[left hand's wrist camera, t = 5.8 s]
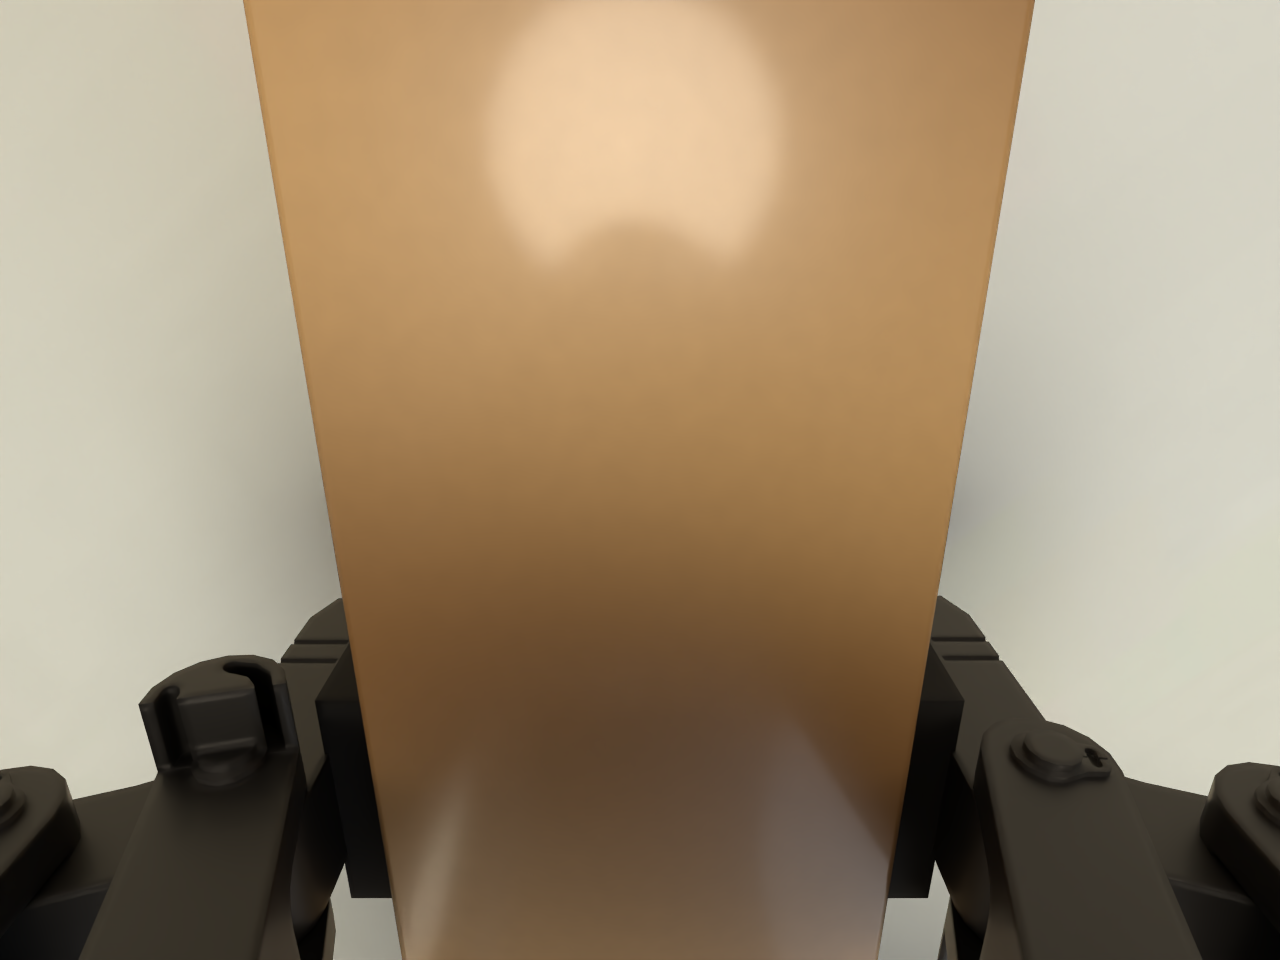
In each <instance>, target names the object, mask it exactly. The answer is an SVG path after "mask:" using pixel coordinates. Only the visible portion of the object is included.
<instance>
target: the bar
mask: <svg viewBox="0 0 1280 960" xmlns="http://www.w3.org/2000/svg"><path fill="white" fill-rule="evenodd" d="M243 2H244V8H245V14H246V20H247V26H248V32H249V38H250V44H251V50H252V56H253V62H254V68H255V74H256V80H257V87H258V93H259V99H260V105H261V111H262V117H263V123H264V129H265V135H266V141H267V147H268V153H269V159H270V165H271V171H272V177H273V183H274V189H275V195H276V201H277V207H278V213H279V219H280V225H281V231H282V237H283V243H284V249H285V255H286V261H287V267H288V273H289V279H290V285H291V291H292V298H293V304H294V310H295V316H296V322H297V328H298V334H299V340H300V346H301V352H302V358H303V364H304V370H305V376H306V382H307V388H308V394H309V400H310V406H311V412H312V418H313V424H314V430H315V436H316V442H317V448H318V454H319V460H320V466H321V472H322V478H323V484H324V490H325V496H326V502H327V509H328V515H329V521H330V527H331V533H332V539H333V545H334V551H335V557H336V563H337V569H338V575H339V581H340V587H341V593H342V599H343V605H344V611H345V617H346V623H347V629H348V635H349V641H350V647H351V653H352V659H353V665H354V671H355V677H356V683H357V689H358V695H359V701H360V707H361V713H362V719H363V726H364V732H365V738H366V744H367V750H368V756H369V762H370V768H371V774H372V780H373V786H374V792H375V798H376V804H377V810H378V816H379V822H380V828H381V834H382V840H383V846H384V852H385V858H386V864H387V870H388V876H389V882H390V888H391V894H392V900H393V906H394V912H395V918H396V924H397V930H398V937H399V943H400V949H401V955H402V960H878V954H879V948H880V942H881V936H882V930H883V923H884V917H885V911H886V905H887V899H888V893H889V887H890V881H891V875H892V869H893V862H894V856H895V850H896V844H897V838H898V832H899V826H900V820H901V814H902V808H903V801H904V795H905V789H906V783H907V777H908V771H909V765H910V759H911V753H912V747H913V741H914V734H915V728H916V722H917V716H918V710H919V704H920V698H921V692H922V686H923V680H924V673H925V667H926V661H927V655H928V649H929V643H930V637H931V631H932V625H933V619H934V612H935V606H936V600H937V594H938V588H939V582H940V576H941V570H942V564H943V558H944V552H945V545H946V539H947V533H948V527H949V521H950V515H951V509H952V503H953V497H954V491H955V484H956V478H957V472H958V466H959V460H960V454H961V448H962V442H963V436H964V430H965V423H966V417H967V411H968V405H969V399H970V393H971V387H972V381H973V375H974V369H975V363H976V356H977V350H978V344H979V338H980V332H981V326H982V320H983V314H984V308H985V302H986V295H987V289H988V283H989V277H990V271H991V265H992V259H993V253H994V247H995V241H996V234H997V228H998V222H999V216H1000V210H1001V204H1002V198H1003V192H1004V186H1005V180H1006V174H1007V167H1008V161H1009V155H1010V149H1011V143H1012V137H1013V131H1014V125H1015V119H1016V113H1017V106H1018V100H1019V94H1020V88H1021V82H1022V76H1023V70H1024V64H1025V58H1026V52H1027V45H1028V39H1029V33H1030V27H1031V21H1032V15H1033V9H1034V3H1035V0H243Z"/></svg>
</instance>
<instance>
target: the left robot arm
mask: <svg viewBox="0 0 1280 960" xmlns="http://www.w3.org/2000/svg"><path fill="white" fill-rule="evenodd" d="M294 641H295V642H294V644H291V645H290V647H289V648H288V650H287V651H286V652H285V654H284V655H283V657H282V658H281V663H278V664H277V663H276V662H275V661H274V660H273V659H268V658H264V657H260V656H256V655H234V656H225V657H220V658H216V659H211V660H207V661H203V662H199V663H197V664H195V665H192V666H190V667H187V668H185V669H183V670H180V671H178V672H175V673H173V674H172V675H170V676H169V677H167V678H166V679H165V680H163V681H162V682H160V683H159V684H157V685H156V686H154V687H153V688H152V689H151V690H150V691H149V692H148V693H147V695H146V696H145V697H144V698H143V699H142V701H141V702H140V703H139V704H138V705H139V708H140V712H141V715H142V719H143V722H144V726H145V729H146V732H147V736H148V739H149V743H150V746H151V750H152V753H153V757H154V760H155V764H156V767H157V771H158V773H157V776H156V778H155V780H154V781H151V782H147V783H144V784H140V785H137V786H133V787H128V788H124V789H119V790H115V791H110V792H106V793H101V794H97V795H92V796H87V797H83V798H78V799H74V800H72V797H71V794H70V791H69V788H68V785H67V782H66V779H65V778H63V777H62V776H61V775H60V774H59V773H57V772H56V771H55V770H54V769H50V768H43V767H36V766H26V767H18V768H11V769H3V770H0V960H333V952H334V942H335V933H336V929H335V922H334V915H333V909H332V904H331V899H330V897H331V894H332V892H333V889H334V887H335V885H336V882H337V880H338V878H339V875H340V873H341V870H342V868H343V866H344V863H345V866H346V871H347V877H348V882H349V887H350V893H351V898H392V894H391V888H390V882H389V876H388V870H387V864H386V858H385V852H384V846H383V840H382V834H381V828H380V822H379V816H378V810H377V804H376V798H375V792H374V786H373V780H372V774H371V768H370V762H369V756H368V750H367V744H366V738H365V732H364V726H363V719H362V713H361V707H360V701H359V695H358V689H357V683H356V677H355V671H354V665H353V659H352V653H351V647H350V641H349V635H348V629H347V623H346V617H345V611H344V605H343V599H342V598H339V599H337V600H336V601H334V602H333V603H331V604H330V605H328V606H327V607H325V608H324V609H322V610H321V611H320V612H318V613H317V614H315V615H314V616H312V617H311V618H310V619H309V620H308V622H307V623H306V625H305V626H304V627H303V629H302V630H301V632H300V633H299V634H298V636H297V637H296V639H295V640H294ZM935 861H936V863H937V866H938V868H939V870H940V873H941V875H942V877H943V880H944V882H945V884H946V887H947V889H948V892H949V894H950V899H949V904H948V909H947V914H946V919H945V924H944V929H943V934H942V939H941V944H940V949H939V954H938V959H937V960H1280V766H1274V765H1266V764H1259V763H1251V762H1247V763H1240V764H1234V765H1227V766H1226V767H1225V768H1224V769H1222V770H1221V771H1220V772H1219V773H1217V774H1216V775H1215V777H1214V780H1213V783H1212V786H1211V789H1210V792H1209V795H1208V796H1204V795H1199V794H1195V793H1190V792H1185V791H1181V790H1176V789H1172V788H1167V787H1162V786H1158V785H1153V784H1149V783H1144V782H1141V781H1137V780H1134V779H1130V778H1127V777H1124V774H1123V772H1122V770H1121V769H1120V767H1119V766H1118V765H1117V763H1116V762H1115V760H1114V759H1113V758H1112V756H1111V755H1110V753H1108V752H1107V751H1106V750H1105V749H1103V748H1102V747H1101V746H1099V745H1098V744H1097V743H1096V742H1094V741H1093V740H1092V739H1090V738H1089V737H1087V736H1085V735H1083V734H1081V733H1079V732H1077V731H1074V730H1072V729H1070V728H1068V727H1066V726H1064V725H1060V724H1056V723H1053V722H1049V721H1046V720H1045V719H1044V717H1043V716H1042V715H1041V713H1040V712H1039V710H1038V709H1037V708H1036V706H1035V705H1034V704H1033V702H1032V701H1031V699H1030V698H1029V697H1028V695H1027V694H1026V693H1025V691H1024V690H1023V688H1022V687H1021V686H1020V684H1019V683H1018V682H1017V680H1016V679H1015V677H1014V676H1013V675H1012V673H1011V672H1010V670H1009V669H1008V668H1007V666H1006V665H1005V664H1004V662H1003V661H999V655H998V654H997V653H996V651H995V650H994V648H993V647H992V646H991V644H990V643H989V642H986V640H985V636H984V635H983V633H982V632H981V631H980V629H979V628H978V626H977V625H976V624H975V622H974V621H973V619H972V618H971V617H970V615H968V614H967V613H966V612H964V611H963V610H961V609H960V608H958V607H957V606H955V605H954V604H952V603H951V602H949V601H948V600H946V599H945V598H943V597H942V596H937V600H936V606H935V612H934V619H933V625H932V631H931V637H930V643H929V649H928V655H927V661H926V667H925V673H924V680H923V686H922V692H921V698H920V704H919V710H918V716H917V722H916V728H915V734H914V741H913V747H912V753H911V759H910V765H909V771H908V777H907V783H906V789H905V795H904V801H903V808H902V814H901V820H900V826H899V832H898V838H897V844H896V850H895V856H894V862H893V869H892V875H891V881H890V887H889V893H888V898H928V895H929V890H930V884H931V879H932V874H933V868H934V863H935Z"/></svg>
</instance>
